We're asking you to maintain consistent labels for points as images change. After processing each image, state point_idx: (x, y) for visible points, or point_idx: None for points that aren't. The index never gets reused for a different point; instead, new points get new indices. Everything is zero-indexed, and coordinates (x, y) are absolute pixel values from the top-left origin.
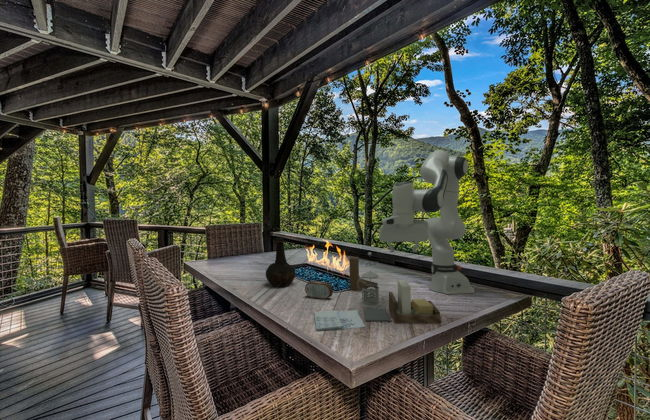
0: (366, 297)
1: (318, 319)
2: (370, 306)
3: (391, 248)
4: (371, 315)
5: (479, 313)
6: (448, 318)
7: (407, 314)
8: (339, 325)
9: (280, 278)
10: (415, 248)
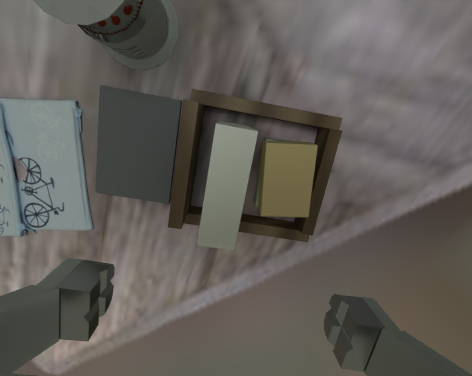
0: None
1: None
2: (130, 64)
3: (48, 338)
4: (119, 159)
5: (447, 184)
6: (339, 205)
7: None
8: (12, 233)
9: None
10: (365, 369)
